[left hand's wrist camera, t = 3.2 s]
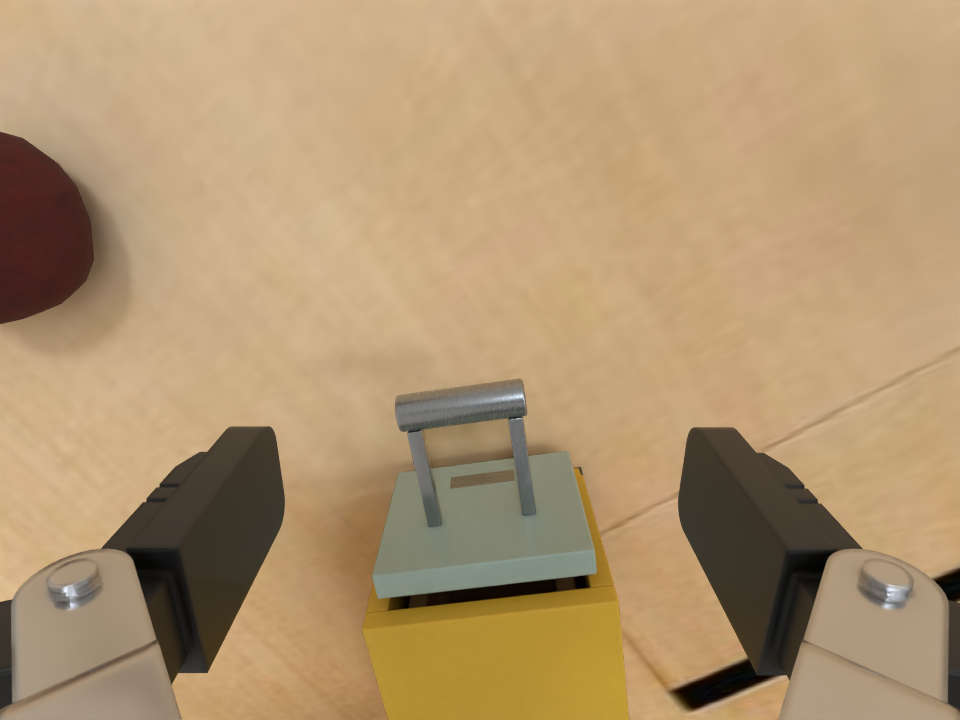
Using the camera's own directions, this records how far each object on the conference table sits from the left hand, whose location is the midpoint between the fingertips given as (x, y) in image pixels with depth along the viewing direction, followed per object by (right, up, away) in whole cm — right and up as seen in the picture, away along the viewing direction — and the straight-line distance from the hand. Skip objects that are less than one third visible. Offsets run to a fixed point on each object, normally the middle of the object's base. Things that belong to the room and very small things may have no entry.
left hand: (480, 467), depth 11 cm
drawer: (+1, -8, +20) cm, 21 cm away
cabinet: (+2, -12, +23) cm, 26 cm away
